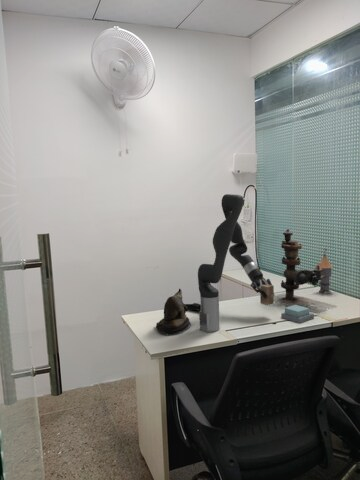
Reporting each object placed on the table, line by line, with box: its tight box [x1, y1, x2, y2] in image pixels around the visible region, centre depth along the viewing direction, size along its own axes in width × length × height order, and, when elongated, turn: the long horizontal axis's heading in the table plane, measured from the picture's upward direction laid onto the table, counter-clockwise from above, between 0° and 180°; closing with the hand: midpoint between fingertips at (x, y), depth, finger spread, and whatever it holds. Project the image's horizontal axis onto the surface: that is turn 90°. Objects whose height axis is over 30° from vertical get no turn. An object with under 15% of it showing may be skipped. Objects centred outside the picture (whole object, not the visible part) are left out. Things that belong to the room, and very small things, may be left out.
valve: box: [274, 228, 339, 314], centre depth 233 cm, size 42×20×45 cm, turn 34°
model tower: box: [314, 248, 334, 295], centre depth 253 cm, size 10×11×30 cm
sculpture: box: [155, 288, 192, 336], centre depth 196 cm, size 23×18×20 cm
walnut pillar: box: [259, 284, 275, 306], centre depth 208 cm, size 5×5×10 cm
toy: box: [184, 302, 201, 313], centre depth 227 cm, size 8×6×30 cm
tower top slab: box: [284, 305, 310, 317], centre depth 206 cm, size 9×9×3 cm
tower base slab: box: [280, 311, 315, 324], centre depth 206 cm, size 12×12×3 cm
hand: (269, 296), depth 207 cm, fingers closed on walnut pillar, 5 cm apart
